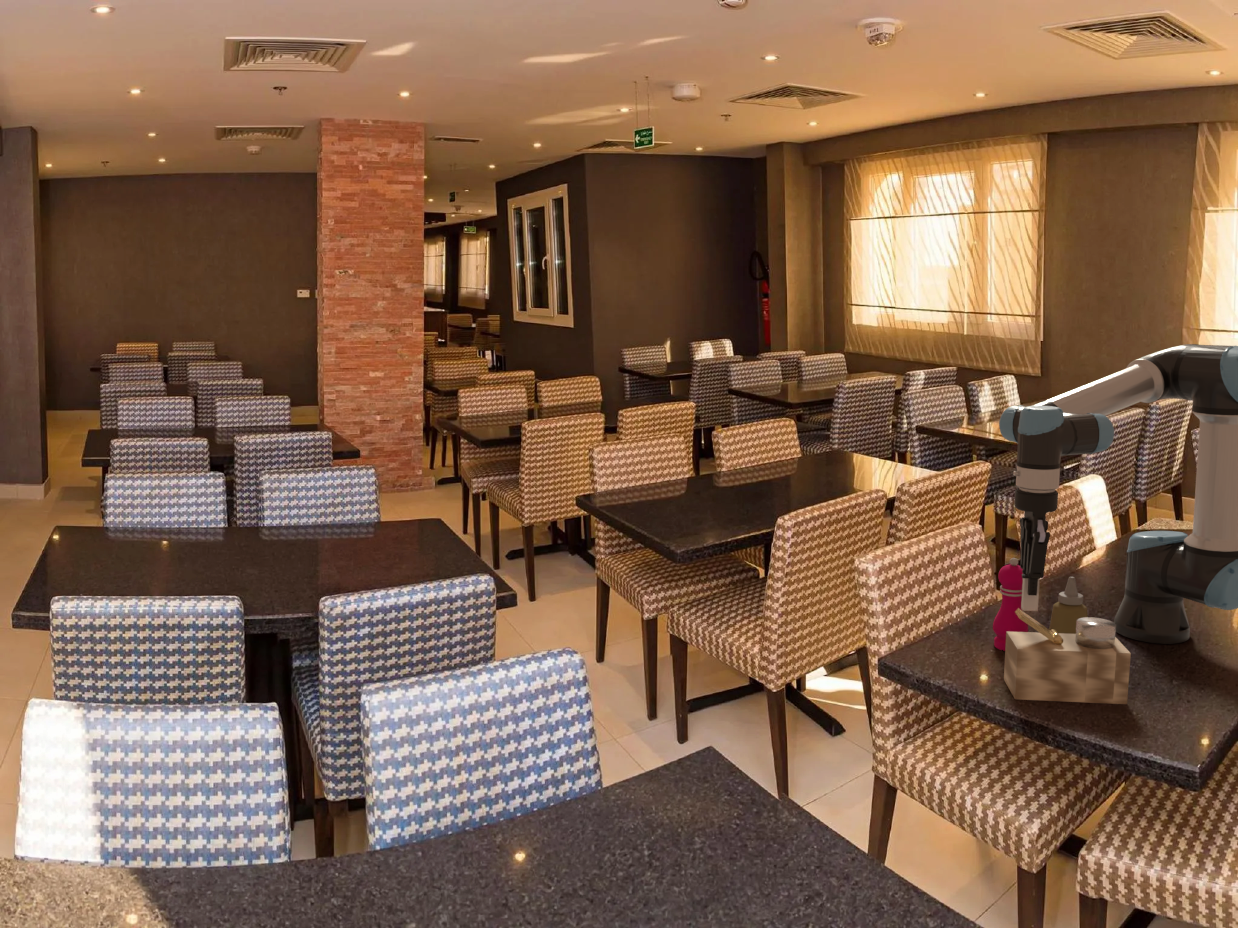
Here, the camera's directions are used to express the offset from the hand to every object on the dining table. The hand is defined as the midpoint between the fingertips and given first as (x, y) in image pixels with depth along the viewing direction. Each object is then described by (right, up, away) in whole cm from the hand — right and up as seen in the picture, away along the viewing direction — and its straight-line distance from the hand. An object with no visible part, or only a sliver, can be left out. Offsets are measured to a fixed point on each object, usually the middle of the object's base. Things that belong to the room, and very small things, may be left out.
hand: (1029, 609), depth 195 cm
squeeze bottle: (+15, -13, +18) cm, 27 cm away
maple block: (+7, -16, +2) cm, 18 cm away
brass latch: (+2, -4, +1) cm, 4 cm away
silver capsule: (+12, -14, +1) cm, 19 cm away
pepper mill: (+6, -12, +26) cm, 29 cm away
